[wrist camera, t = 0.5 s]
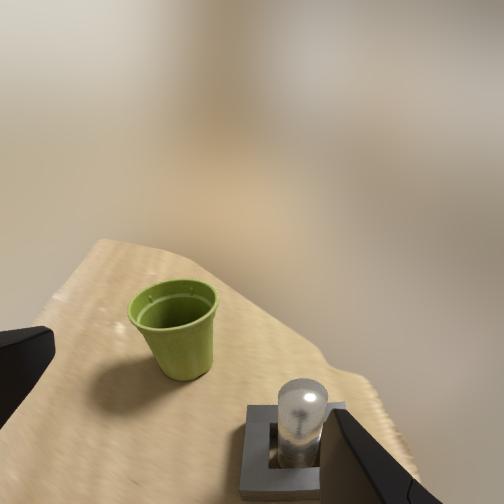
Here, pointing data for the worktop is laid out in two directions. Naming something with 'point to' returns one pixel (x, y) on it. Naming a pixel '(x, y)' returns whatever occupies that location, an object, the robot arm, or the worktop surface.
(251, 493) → the pin holder
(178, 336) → the plant pot
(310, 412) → the pin
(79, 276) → the worktop surface
